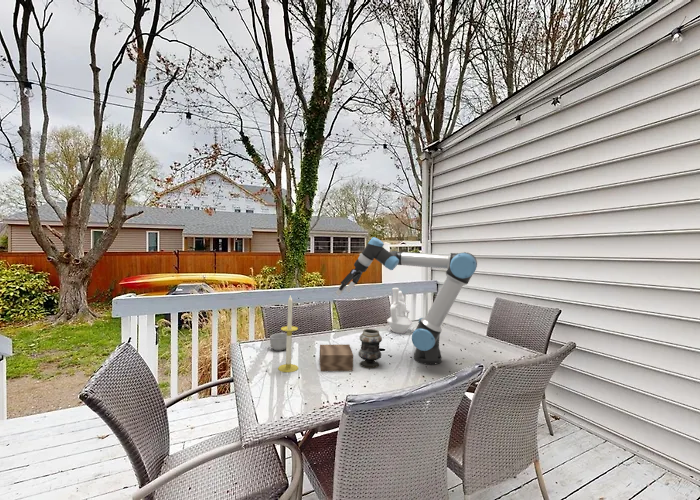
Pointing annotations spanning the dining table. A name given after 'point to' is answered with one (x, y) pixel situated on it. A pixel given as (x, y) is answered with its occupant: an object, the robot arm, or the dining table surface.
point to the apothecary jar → (370, 348)
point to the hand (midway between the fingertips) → (342, 292)
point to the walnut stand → (336, 358)
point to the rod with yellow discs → (289, 341)
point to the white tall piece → (399, 313)
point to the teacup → (278, 341)
